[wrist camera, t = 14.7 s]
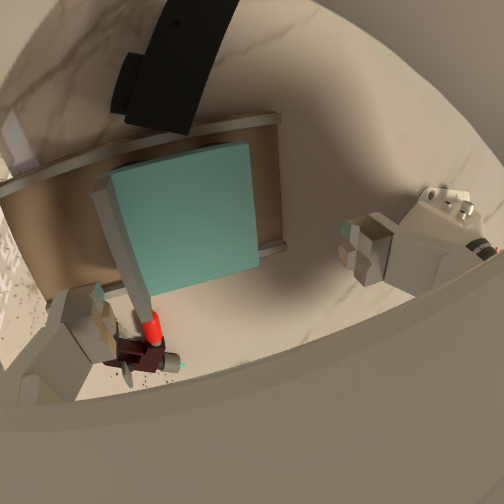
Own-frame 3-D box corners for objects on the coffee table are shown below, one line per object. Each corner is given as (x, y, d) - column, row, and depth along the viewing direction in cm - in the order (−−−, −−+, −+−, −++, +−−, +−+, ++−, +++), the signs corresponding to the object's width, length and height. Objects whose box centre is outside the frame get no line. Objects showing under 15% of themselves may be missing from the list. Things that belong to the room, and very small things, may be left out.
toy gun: (179, 365, 39) (186, 393, 35) (94, 352, 33) (93, 382, 29) (204, 315, 36) (214, 345, 32) (106, 295, 30) (104, 326, 26)
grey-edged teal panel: (233, 134, 24) (263, 152, 19) (245, 244, 30) (272, 286, 25) (104, 164, 22) (91, 193, 16) (137, 273, 28) (141, 323, 22)
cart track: (270, 110, 25) (280, 113, 23) (278, 240, 33) (286, 251, 31) (-1, 183, 19) (-11, 192, 17) (52, 301, 27) (49, 315, 25)
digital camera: (155, -1, 17) (161, -29, 11) (216, 15, 19) (242, -6, 14) (115, 111, 21) (105, 120, 15) (176, 124, 23) (188, 137, 18)
